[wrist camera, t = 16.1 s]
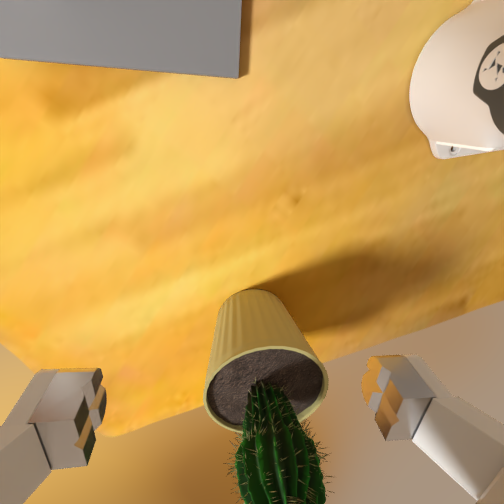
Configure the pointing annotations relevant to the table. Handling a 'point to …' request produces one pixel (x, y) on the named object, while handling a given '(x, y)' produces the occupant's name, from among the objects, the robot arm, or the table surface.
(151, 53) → the gray base with shelf
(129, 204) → the table surface
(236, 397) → the potted cactus
